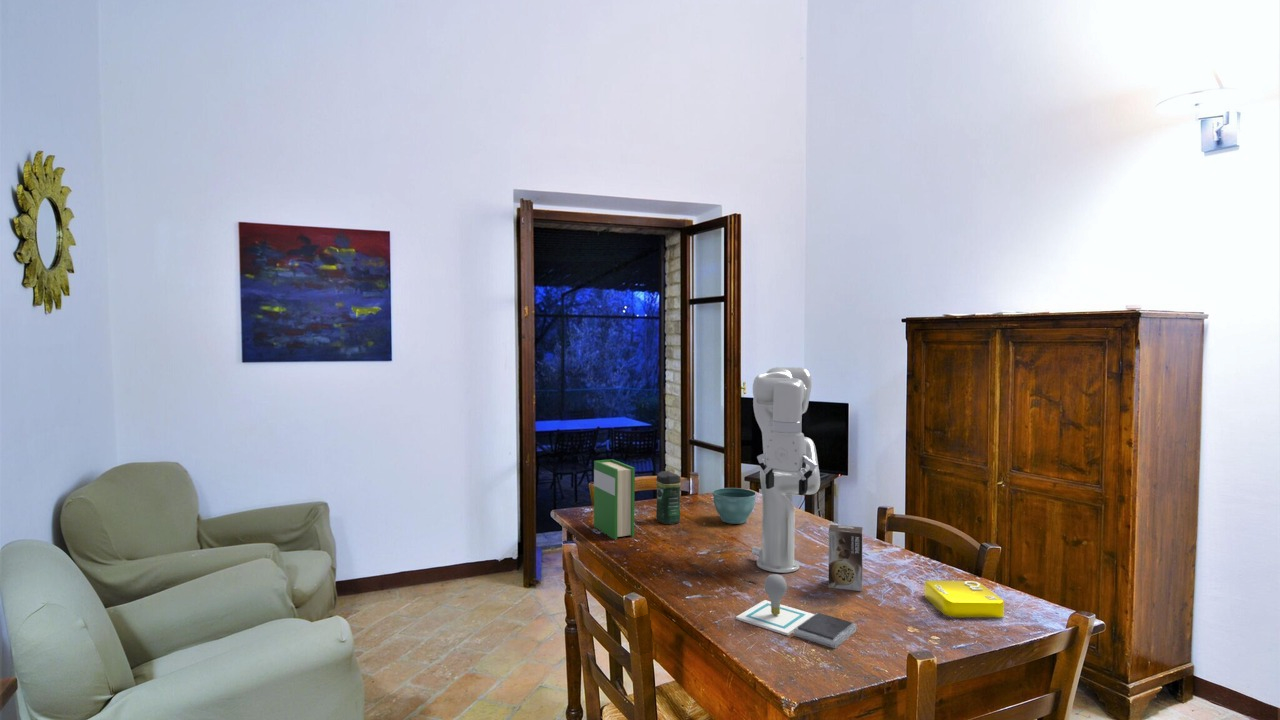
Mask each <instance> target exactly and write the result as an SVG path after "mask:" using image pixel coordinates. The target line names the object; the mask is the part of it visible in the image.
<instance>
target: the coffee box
mask: <svg viewBox="0 0 1280 720" xmlns="http://www.w3.org/2000/svg"><path fill="white" fill-rule="evenodd" d="M863 535H864V533H863V526H862V527H861V526H853V525H851V526H850V525H841V524H840V525H839V524H838V525H837V524H829V529H828V584H827V585H828V586H827V587H828V589H829V588H830V589H836V590H837V589H839V590H848V591H856V592H862V591H863V587H864V585H863V583H864V581H863V580H864V578H863V573H864V572H863V570H864V569H863V566H864V565H863V564H864V563H863V558H864V557H863V555H864V552H863V549H864V547H863V543H864V538H863V537H864V536H863Z"/></svg>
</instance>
